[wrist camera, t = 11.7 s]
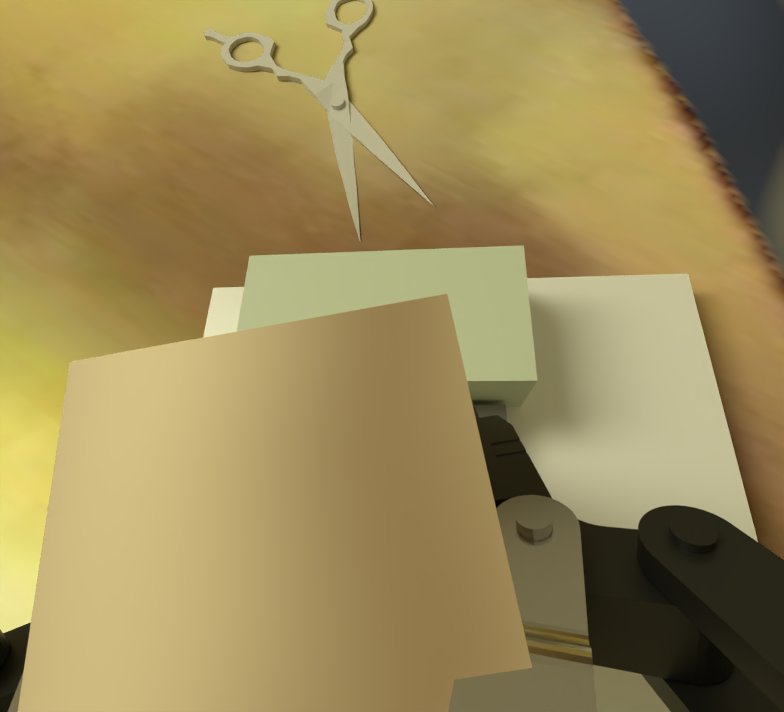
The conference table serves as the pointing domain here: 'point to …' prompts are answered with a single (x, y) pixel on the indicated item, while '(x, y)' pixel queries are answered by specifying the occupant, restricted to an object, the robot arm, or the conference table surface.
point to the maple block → (273, 526)
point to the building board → (613, 414)
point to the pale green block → (409, 282)
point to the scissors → (327, 99)
